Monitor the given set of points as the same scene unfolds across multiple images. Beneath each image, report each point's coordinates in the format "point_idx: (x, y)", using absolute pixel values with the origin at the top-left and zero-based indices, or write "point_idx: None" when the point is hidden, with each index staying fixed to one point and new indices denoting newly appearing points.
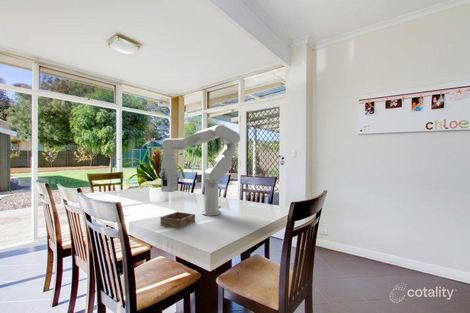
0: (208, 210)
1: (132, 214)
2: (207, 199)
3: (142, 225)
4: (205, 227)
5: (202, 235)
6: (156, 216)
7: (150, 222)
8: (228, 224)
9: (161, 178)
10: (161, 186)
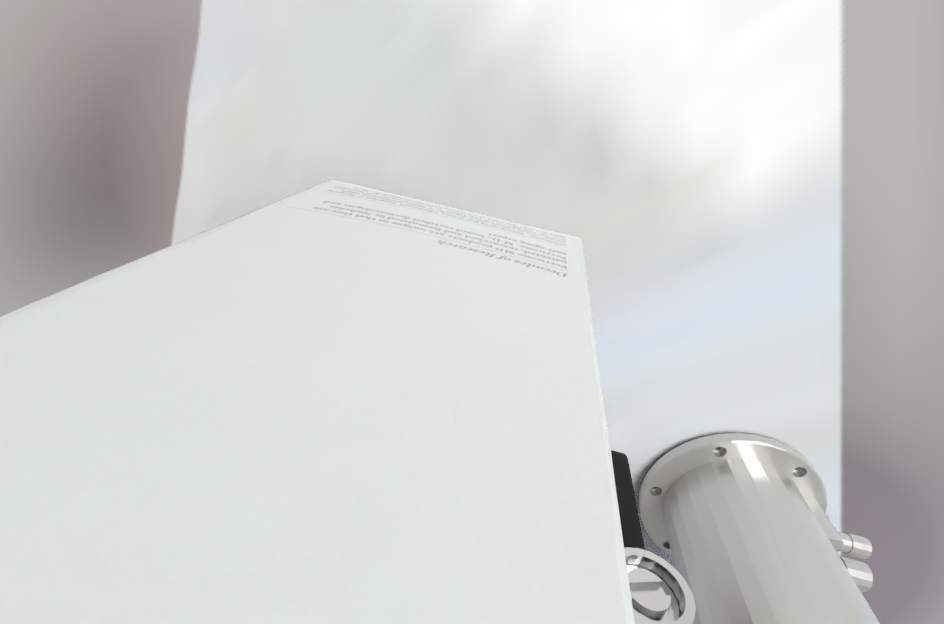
0: (668, 522)
1: None
2: (699, 616)
3: (208, 89)
4: None
5: None
6: (514, 4)
7: (305, 101)
8: None
9: (48, 308)
10: (266, 211)
